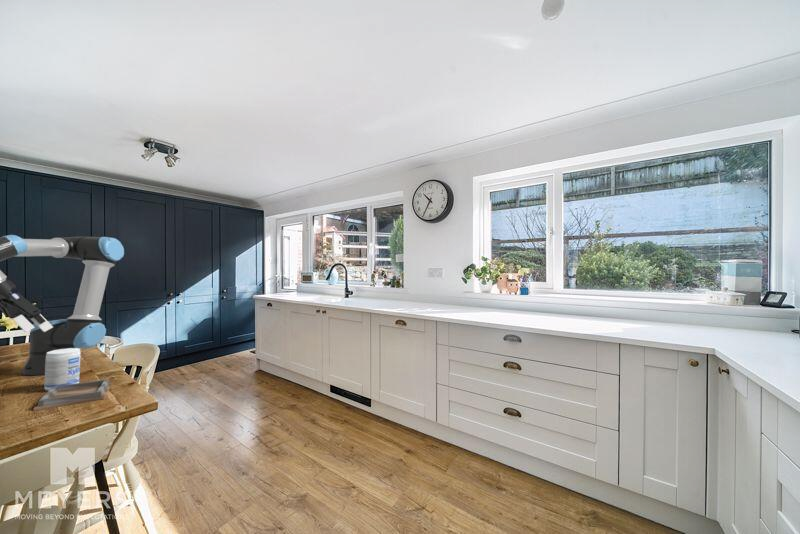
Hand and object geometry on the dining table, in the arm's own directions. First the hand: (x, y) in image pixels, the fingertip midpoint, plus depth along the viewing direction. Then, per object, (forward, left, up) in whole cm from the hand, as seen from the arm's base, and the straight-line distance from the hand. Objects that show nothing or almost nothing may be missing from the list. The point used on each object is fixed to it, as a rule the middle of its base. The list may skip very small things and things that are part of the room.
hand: (39, 329), depth 117 cm
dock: (+13, +13, -24) cm, 31 cm away
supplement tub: (-2, +6, -24) cm, 25 cm away
